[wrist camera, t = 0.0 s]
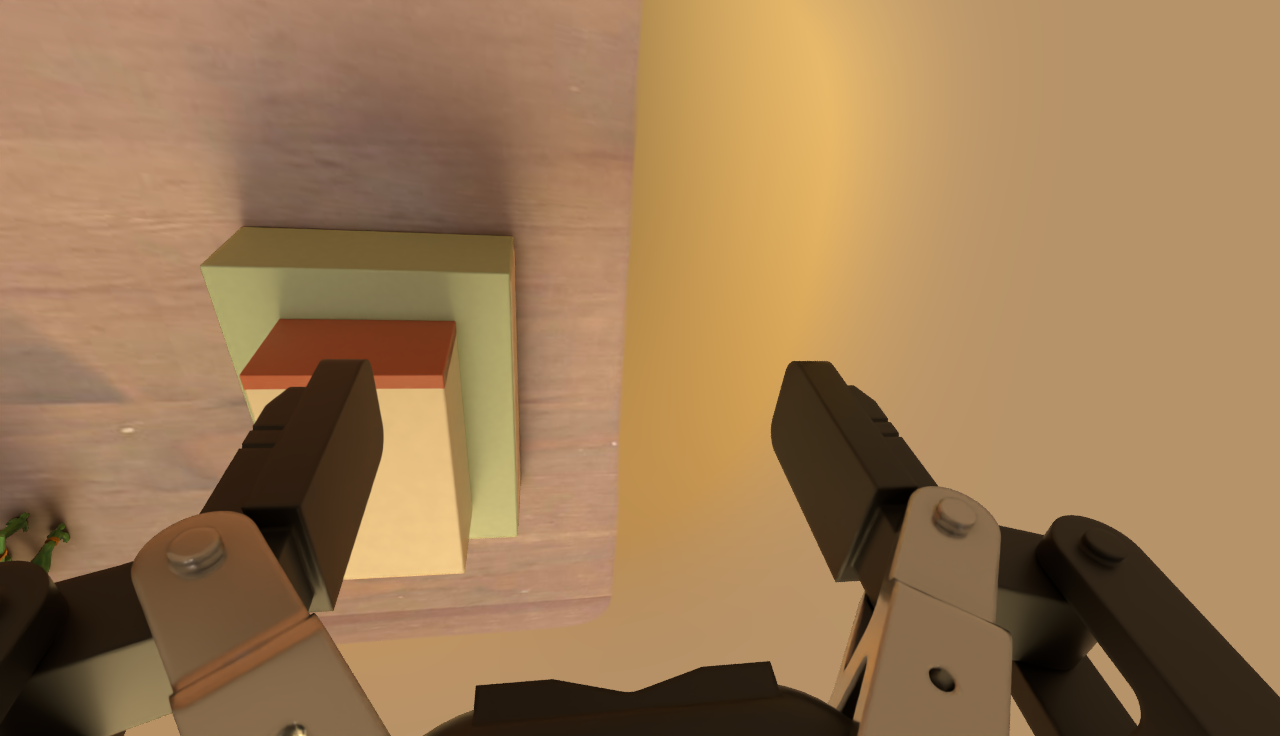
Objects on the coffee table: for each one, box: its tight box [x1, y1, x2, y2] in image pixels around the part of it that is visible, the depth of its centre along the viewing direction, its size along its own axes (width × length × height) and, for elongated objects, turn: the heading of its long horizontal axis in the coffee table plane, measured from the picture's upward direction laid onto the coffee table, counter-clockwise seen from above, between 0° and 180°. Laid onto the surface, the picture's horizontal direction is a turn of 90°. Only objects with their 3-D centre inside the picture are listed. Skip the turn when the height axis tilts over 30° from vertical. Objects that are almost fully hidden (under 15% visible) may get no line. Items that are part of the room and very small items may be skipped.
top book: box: [239, 319, 472, 580], centre depth 23 cm, size 10×6×4 cm, turn 175°
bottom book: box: [200, 227, 521, 539], centre depth 26 cm, size 14×10×4 cm
